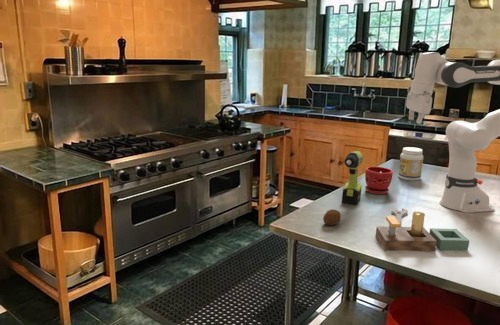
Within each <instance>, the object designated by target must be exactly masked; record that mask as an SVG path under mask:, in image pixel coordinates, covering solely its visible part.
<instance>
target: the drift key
mask: <svg viewBox="0 0 500 325" xmlns="http://www.w3.org/2000/svg"><path fill="white" fill-rule="evenodd" d="M385 220H386V221H387V223H388V224H389V226H388V227H389V234H390V235H391V236H395V232H396V227H401V225H400V223H399V222H398V221H397V219H396V216H386V217H385Z"/></svg>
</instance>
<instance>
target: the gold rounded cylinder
mask: <svg viewBox="0 0 500 325" xmlns="http://www.w3.org/2000/svg"><path fill="white" fill-rule="evenodd" d="M425 216H426V214H425V212H421V211H413V212H412V217H411V218H412V219H411V226H410V227H411V233H410V236H411V237H422V232H423V227H424V222H425Z"/></svg>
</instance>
